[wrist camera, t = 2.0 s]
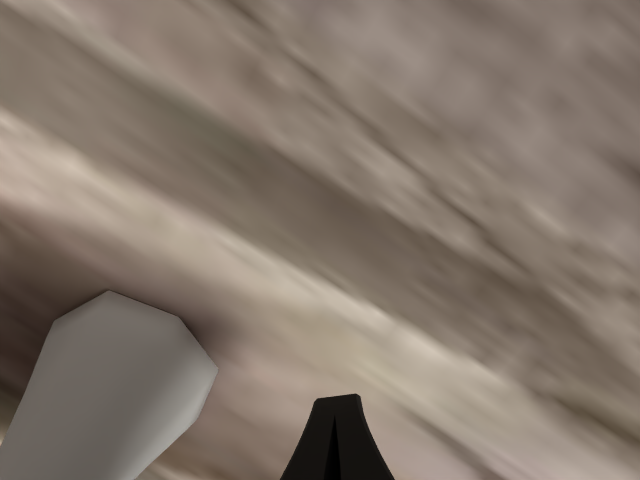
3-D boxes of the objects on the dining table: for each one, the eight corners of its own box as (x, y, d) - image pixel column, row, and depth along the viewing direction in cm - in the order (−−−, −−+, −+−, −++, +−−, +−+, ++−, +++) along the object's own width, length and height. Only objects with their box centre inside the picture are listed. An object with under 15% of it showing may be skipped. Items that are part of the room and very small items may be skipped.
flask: (16, 370, 19) (-303, 663, 9) (105, 257, 17) (-189, 486, 7) (153, 458, 20) (-2, 786, 11) (250, 364, 18) (162, 666, 9)
